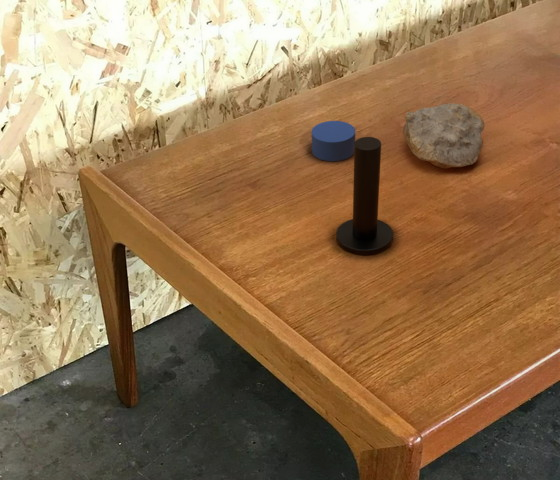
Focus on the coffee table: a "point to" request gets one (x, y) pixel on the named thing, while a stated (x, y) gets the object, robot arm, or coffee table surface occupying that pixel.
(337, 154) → the disc
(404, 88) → the coffee table surface
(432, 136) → the fossil
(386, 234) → the post stand
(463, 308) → the coffee table surface
